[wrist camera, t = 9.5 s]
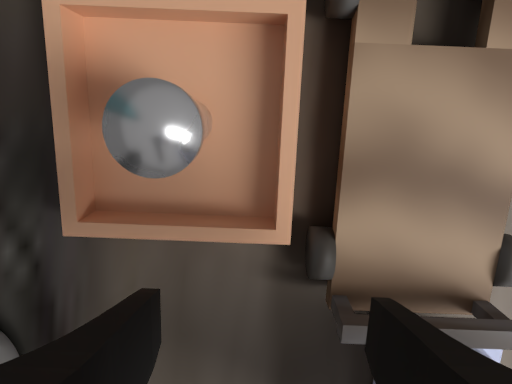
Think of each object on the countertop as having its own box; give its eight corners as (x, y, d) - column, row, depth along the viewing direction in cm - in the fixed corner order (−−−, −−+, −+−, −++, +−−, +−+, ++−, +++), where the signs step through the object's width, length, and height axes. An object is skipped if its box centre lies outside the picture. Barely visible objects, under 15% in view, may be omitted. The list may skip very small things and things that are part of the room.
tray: (285, 226, 22) (290, 244, 19) (89, 218, 21) (62, 236, 19) (299, 13, 19) (306, -5, 16) (73, 3, 19) (40, -17, 16)
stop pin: (220, 154, 20) (200, 181, 12) (159, 150, 20) (103, 175, 12) (222, 92, 19) (203, 81, 12) (159, 87, 19) (100, 73, 12)
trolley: (480, 293, 23) (550, 351, 17) (302, 286, 22) (316, 342, 17) (553, -62, 18) (678, -136, 13) (329, -72, 18) (361, -149, 13)
